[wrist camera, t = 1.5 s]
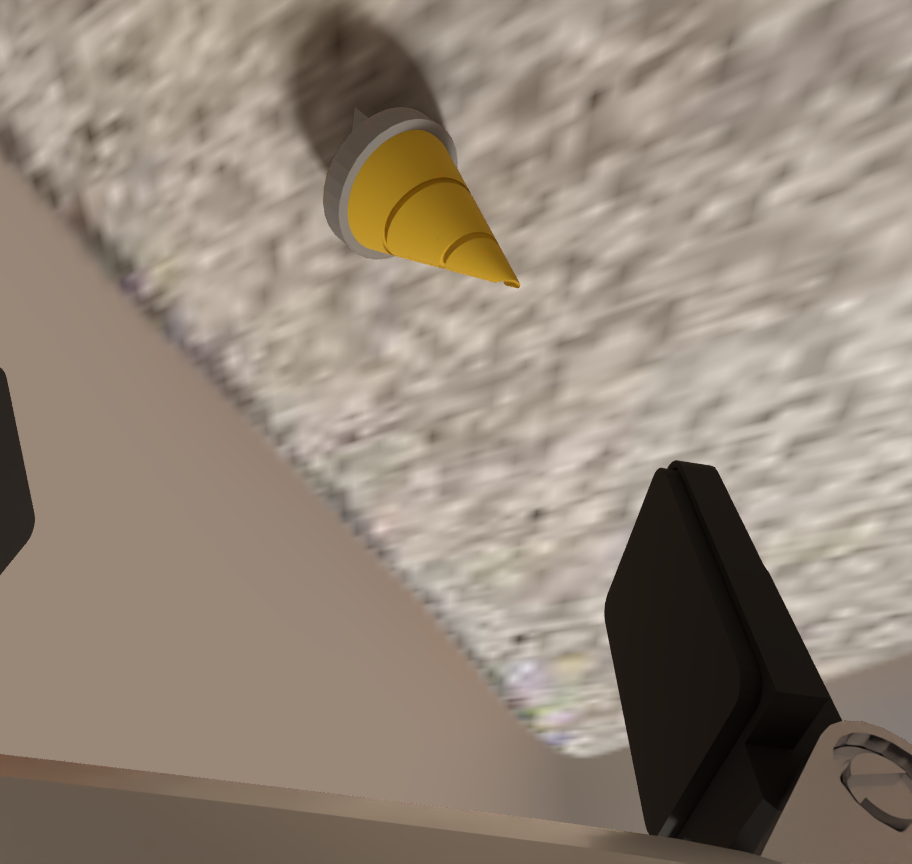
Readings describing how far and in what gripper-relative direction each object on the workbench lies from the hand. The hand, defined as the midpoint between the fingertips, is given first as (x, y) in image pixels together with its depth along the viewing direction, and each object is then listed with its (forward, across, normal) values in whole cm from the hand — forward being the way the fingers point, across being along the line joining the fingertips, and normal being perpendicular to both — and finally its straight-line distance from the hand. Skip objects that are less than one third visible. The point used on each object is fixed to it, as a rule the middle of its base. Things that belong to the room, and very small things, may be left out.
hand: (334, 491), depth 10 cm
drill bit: (+20, 0, 0) cm, 21 cm away
